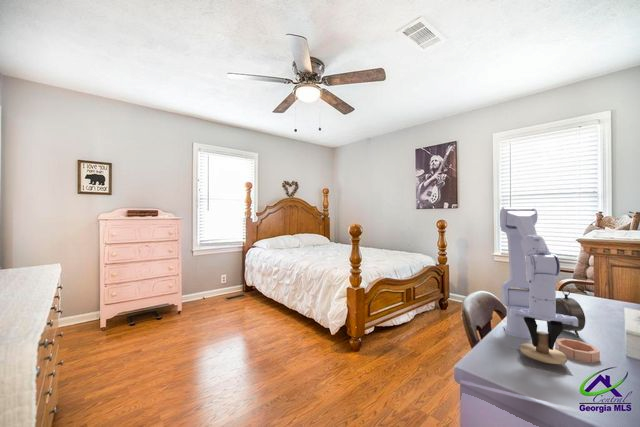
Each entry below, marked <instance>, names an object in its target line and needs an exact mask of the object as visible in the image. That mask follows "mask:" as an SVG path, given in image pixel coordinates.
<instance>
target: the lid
mask: <svg viewBox="0 0 640 427" xmlns="http://www.w3.org/2000/svg"><path fill="white" fill-rule="evenodd" d="M519 350H520V351H521V352H522V353H523V354H525V355H526V356H528V357H530V358H533V359H535V360H538V361H541V362H545V363H550V364H566V363H567V362H568V357H567V356H566V355H565V354H563V353H562V352H560V351H558V350H556V348H554V347H553V350H551V349H549V334H548V332H544V331H538V330H537V347H534V346H533V344H532V342H527V343H525V342H524V343H521V344H520V345H519Z"/></svg>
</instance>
